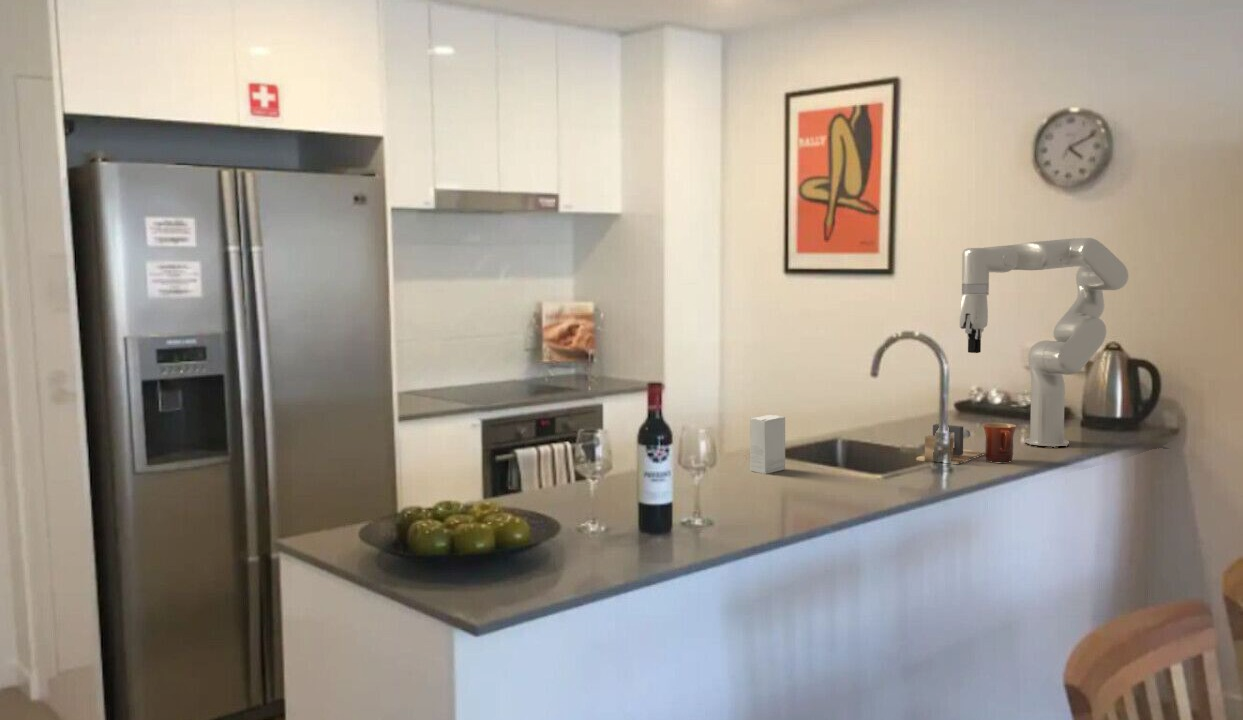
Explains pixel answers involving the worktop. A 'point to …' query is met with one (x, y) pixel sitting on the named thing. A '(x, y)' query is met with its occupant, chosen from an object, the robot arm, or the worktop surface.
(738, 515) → the worktop surface
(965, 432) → the pipe
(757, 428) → the skincare box
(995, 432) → the mug
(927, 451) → the board block
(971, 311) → the robot arm
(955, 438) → the gray square frame
